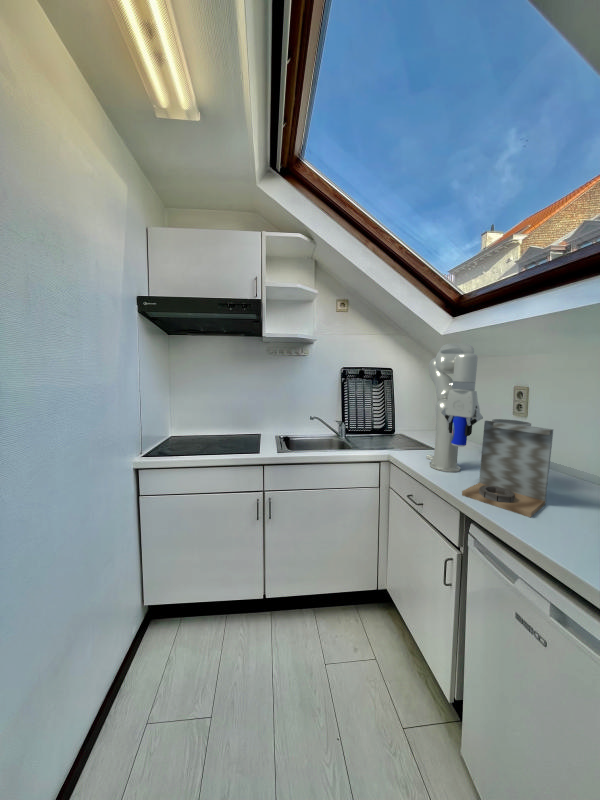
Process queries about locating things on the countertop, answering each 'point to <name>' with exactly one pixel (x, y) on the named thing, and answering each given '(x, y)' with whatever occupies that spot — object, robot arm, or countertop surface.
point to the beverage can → (459, 431)
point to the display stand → (513, 467)
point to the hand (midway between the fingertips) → (459, 433)
